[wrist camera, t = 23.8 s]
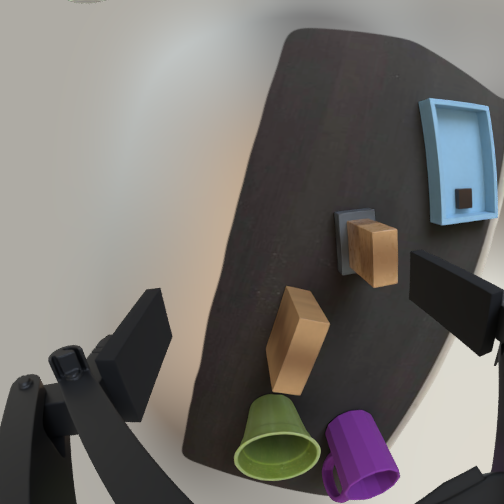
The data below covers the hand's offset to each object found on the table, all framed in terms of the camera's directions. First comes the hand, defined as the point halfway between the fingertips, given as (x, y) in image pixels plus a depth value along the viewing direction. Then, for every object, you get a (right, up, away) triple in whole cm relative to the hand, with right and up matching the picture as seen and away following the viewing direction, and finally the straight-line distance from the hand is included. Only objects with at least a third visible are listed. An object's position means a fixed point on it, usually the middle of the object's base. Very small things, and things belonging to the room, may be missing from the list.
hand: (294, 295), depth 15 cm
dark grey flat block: (+30, +10, +24) cm, 39 cm away
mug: (+14, -32, +34) cm, 49 cm away
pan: (+29, +16, +23) cm, 40 cm away
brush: (+11, +4, +25) cm, 28 cm away
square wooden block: (+3, -7, +27) cm, 28 cm away
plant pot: (+1, -23, +31) cm, 39 cm away
